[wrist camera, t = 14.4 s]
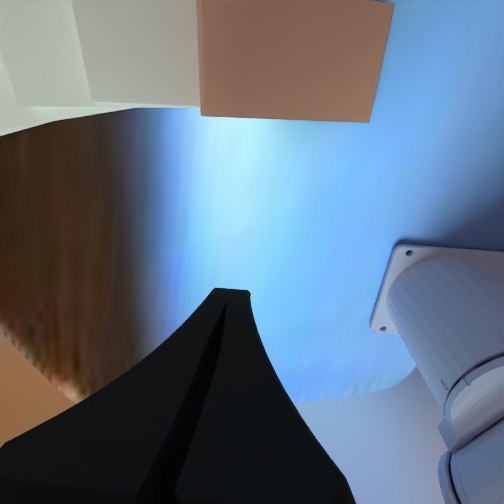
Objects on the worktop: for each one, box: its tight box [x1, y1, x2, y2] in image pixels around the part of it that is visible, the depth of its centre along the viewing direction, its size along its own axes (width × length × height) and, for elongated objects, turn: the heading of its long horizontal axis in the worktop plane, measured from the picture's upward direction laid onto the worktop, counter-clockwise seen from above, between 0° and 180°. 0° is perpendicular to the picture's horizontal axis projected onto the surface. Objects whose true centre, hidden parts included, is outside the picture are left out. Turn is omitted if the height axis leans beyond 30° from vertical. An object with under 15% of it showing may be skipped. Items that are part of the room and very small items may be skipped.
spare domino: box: [196, 0, 394, 123], centre depth 13 cm, size 2×5×9 cm
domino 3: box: [0, 0, 200, 108], centre depth 13 cm, size 2×5×9 cm
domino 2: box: [71, 0, 200, 107], centre depth 13 cm, size 2×5×9 cm
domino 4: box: [0, 52, 136, 129], centre depth 14 cm, size 2×5×9 cm
